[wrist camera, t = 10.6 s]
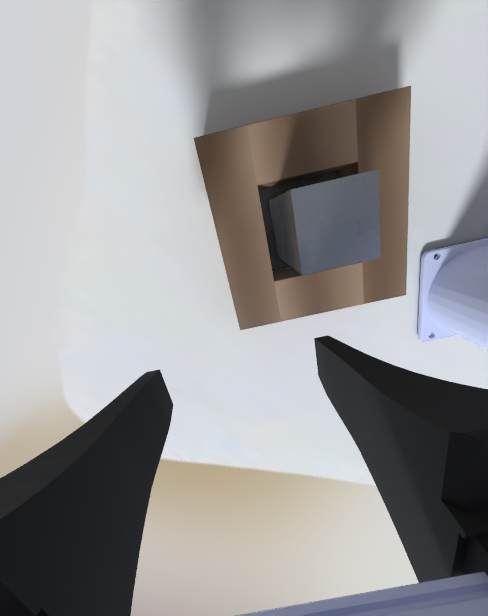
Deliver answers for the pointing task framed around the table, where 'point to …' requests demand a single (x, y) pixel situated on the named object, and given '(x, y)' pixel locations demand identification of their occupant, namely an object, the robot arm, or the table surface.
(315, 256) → the steel peg
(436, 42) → the table surface
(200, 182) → the table surface
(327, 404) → the table surface
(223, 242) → the socket block
